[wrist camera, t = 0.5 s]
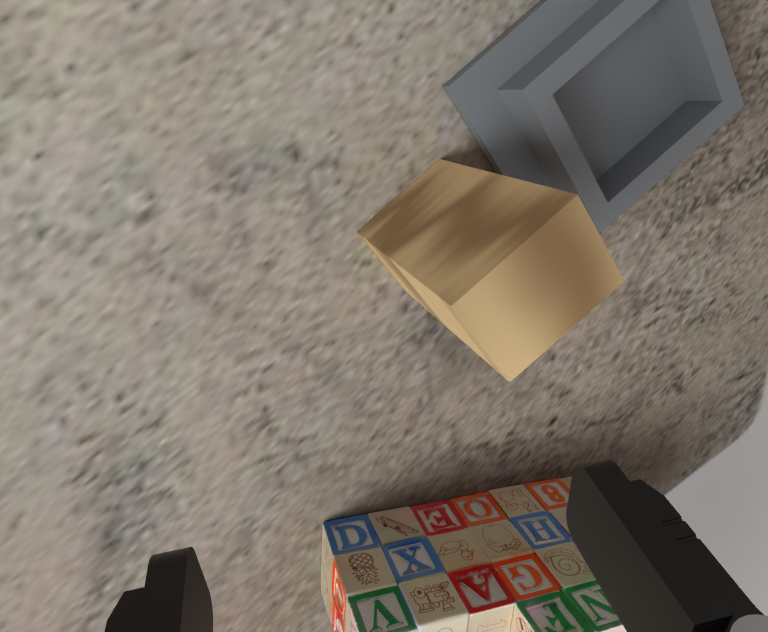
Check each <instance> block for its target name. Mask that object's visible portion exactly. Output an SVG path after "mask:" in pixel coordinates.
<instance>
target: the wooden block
mask: <svg viewBox="0 0 768 632" xmlns="http://www.w3.org/2000/svg"><path fill="white" fill-rule="evenodd" d="M357 233H358V234H359V236H360V237H361V238H362V239H363V241H364V242H365V243H366V244H367V245H368V247H369V248H370V249H371V250H372V252H373V253H374V254H375V255H376V256H377V258H378V259H379V260H380V261H381V263H382V264H383V265H384V266H385V268H386V269H387V270H388V271H389V272H390V274H391V275H392V276H393V277H394V279H395V280H396V281H397V282H398V283H399V285H400V286H401V287H402V288H403V289H404V290H405V291H406V292H407V293H409V294H410V295H411V296H412V297H413V298H414V299H415V300H417V301H418V302H419V303H420V304H421V305H422V306H423V307H425V308H426V309H427V310H428V311H429V312H430V313H431V314H433V315H434V316H435V317H436V318H437V319H438V320H439V321H441V322H442V323H443V324H444V325H445V326H446V327H447V328H449V329H450V330H451V331H452V332H453V333H454V334H455V335H457V336H458V337H459V338H460V339H461V340H462V341H463V342H465V343H466V344H467V345H468V346H469V347H470V348H471V349H473V350H474V351H475V352H476V353H477V354H478V355H479V356H481V357H482V358H483V359H484V360H485V361H486V362H487V363H489V364H490V365H491V366H492V367H493V368H494V369H495V370H497V371H498V372H499V373H500V374H501V375H502V376H503V377H505V378H506V379H507V380H508V381H509V382H511V381H512V380H513V379H514V378H515V377H516V376H518V375H519V374H520V373H521V372H522V371H523V370H524V369H525V368H527V367H528V366H529V365H530V364H531V363H532V362H533V361H534V360H536V359H537V358H538V357H539V356H540V355H541V354H542V353H544V352H545V351H546V350H547V349H548V348H549V347H550V346H551V345H553V344H554V343H555V342H556V341H557V340H558V339H559V338H560V337H562V336H563V335H564V334H565V333H566V332H567V331H568V330H570V329H571V328H572V327H573V326H574V325H575V324H576V323H577V322H579V321H580V320H581V319H582V318H583V317H584V316H585V315H586V314H588V313H589V312H590V311H591V310H592V309H593V308H594V307H595V306H597V305H598V304H599V303H600V302H601V301H602V300H603V299H605V298H606V297H607V296H608V295H609V294H610V293H611V292H612V291H614V290H615V289H616V288H617V287H618V286H619V285H620V284H621V283H623V282H624V279H623V277H622V275H621V273H620V271H619V269H618V268H617V266H616V264H615V262H614V260H613V258H612V257H611V255H610V253H609V251H608V249H607V247H606V245H605V244H604V242H603V240H602V238H601V236H600V234H599V233H598V231H597V229H596V227H595V225H594V223H593V221H592V220H591V218H590V216H589V214H588V212H587V210H586V208H585V207H584V205H583V203H582V201H581V199H580V197H579V196H578V194H574V193H570V192H566V191H562V190H558V189H554V188H550V187H547V186H543V185H539V184H535V183H531V182H527V181H523V180H519V179H516V178H512V177H508V176H504V175H500V174H496V173H492V172H488V171H485V170H481V169H477V168H473V167H469V166H465V165H461V164H457V163H454V162H450V161H446V160H442V159H439V160H438V161H437V162H436V163H435V164H433V165H432V166H431V167H430V168H429V169H428V170H427V171H425V172H424V173H423V174H422V175H421V176H420V177H419V178H417V179H416V180H415V181H414V182H413V183H412V184H411V185H410V186H408V187H407V188H406V189H405V190H404V191H403V192H402V193H400V194H399V195H398V196H397V197H396V198H395V199H394V200H392V201H391V202H390V203H389V204H388V205H387V206H386V207H384V208H383V209H382V210H381V211H380V212H379V213H378V214H376V215H375V216H374V217H373V218H372V219H371V220H370V221H368V222H367V223H366V224H365V225H364V226H363V227H362V228H361V229H359V230H358V231H357Z"/></svg>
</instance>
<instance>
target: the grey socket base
mask: <svg viewBox="0 0 768 632" xmlns="http://www.w3.org/2000/svg"><path fill="white" fill-rule="evenodd" d="M443 87H444V89H445V91H446V92H447V94H448V96H449V97H450V99H451V100H452V102H453V104H454V105H455V107H456V109H457V110H458V112H459V113H460V115H461V117H462V118H463V120H464V122H465V123H466V125H467V126H468V128H469V130H470V131H471V133H472V135H473V136H474V138H475V139H476V141H477V143H478V144H479V146H480V147H481V149H482V151H483V152H484V154H485V156H486V157H487V159H488V160H489V162H490V164H491V165H492V167H493V169H494V170H495V172H496V173H497V174H500V175H504V176H508V177H512V178H516V179H519V180H523V181H527V182H531V183H535V184H539V185H543V186H547V187H550V188H554V189H558V190H562V191H566V192H570V193H574V194H578V196H579V197H580V199H581V201H582V203H583V205H584V207H585V208H586V210H587V212H588V214H589V216H590V218H591V220H592V221H593V223H594V225H595V227H596V229H597V231H598V233H601V232H602V231H603V230H604V229H605V228H607V227H608V226H609V225H610V224H611V223H612V222H613V221H614V220H616V219H617V218H618V217H619V216H620V215H621V214H622V213H624V212H625V211H626V210H627V209H628V208H629V207H630V206H631V205H633V204H634V203H635V202H636V201H637V200H638V199H639V198H640V197H642V196H643V195H644V194H645V193H646V192H647V191H648V190H650V189H651V188H652V187H653V186H654V185H655V184H656V183H657V182H659V181H660V180H661V179H662V178H663V177H664V176H665V175H667V174H668V173H669V172H670V171H671V170H672V169H673V168H674V167H676V166H677V165H678V164H679V163H680V162H681V161H682V160H683V159H685V158H686V157H687V156H688V155H689V154H690V153H691V152H693V151H694V150H695V149H696V148H697V147H698V146H699V145H700V144H702V143H703V142H704V141H705V140H706V139H707V138H708V137H709V136H711V135H712V134H713V133H714V132H715V131H716V130H717V129H719V128H720V127H721V126H722V125H723V124H724V123H725V122H726V121H728V120H729V119H730V118H731V117H732V116H733V115H734V114H736V113H737V112H738V111H739V110H740V109H741V108H742V107H743V106H745V105H744V102H743V99H742V96H741V92H740V89H739V86H738V83H737V80H736V77H735V74H734V71H733V68H732V65H731V62H730V59H729V56H728V53H727V50H726V47H725V43H724V40H723V37H722V34H721V31H720V28H719V25H718V22H717V19H716V16H715V13H714V10H713V7H712V4H711V1H710V0H541V1H539V2H538V3H537V4H536V5H535V6H534V7H533V8H531V9H530V10H529V11H528V12H527V13H526V14H525V15H523V16H522V17H521V18H520V19H519V20H518V21H517V22H515V23H514V24H513V25H512V26H511V27H510V28H509V29H507V30H506V31H505V32H504V33H503V34H502V35H501V36H499V37H498V38H497V39H496V40H495V41H494V42H493V43H491V44H490V45H489V46H488V47H487V48H486V49H485V50H484V51H482V52H481V53H480V54H479V55H478V56H477V57H476V58H474V59H473V60H472V61H471V62H470V63H469V64H468V65H466V66H465V67H464V68H463V69H462V70H461V71H460V72H458V73H457V74H456V75H455V76H454V77H453V78H452V79H450V80H449V81H448V82H447V83H446V84H445V85H444V86H443Z"/></svg>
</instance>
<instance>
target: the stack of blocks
mask: <svg viewBox="0 0 768 632" xmlns="http://www.w3.org/2000/svg"><path fill="white" fill-rule="evenodd" d="M571 479H572V477H566V478H560V479H558V478H555V479H550V480H544V481H539V482H533V483H527V484H524V485H515V486H509V487H504V488H498V489H492V490H489V491H487V492H485V493H478V494H474V495H468V496H463V497H457V498H452V499H450V500H444V501H439V502H433V503H427V504H422V505H417V506H413V507H408V506H406V507H401V508H396V509H390V510H385V511H379V512H374V513H369V514H363V515H357V516H351V517H346V518H342V519H336V520H331V521H326V522H323V533H322V561H321V592H322V597H323V600H324V604H325V607H326V610H327V613H328V616H329V619H330V622H331V625H332V632H627V631H626V629H625V628H624V626H623V624H622V623H621V621H620V619H619V618H618V616H617V614H616V613H615V611H614V609H613V608H612V606H611V604H610V602H609V601H608V599H607V597H606V596H605V594H604V592H603V591H602V589H601V587H600V586H599V584H598V582H597V581H596V579H595V577H594V575H593V574H592V572H591V570H590V569H589V567H588V565H587V564H586V562H585V560H584V559H583V557H582V555H581V554H580V552H579V550H578V548H577V547H576V545H575V543H574V542H573V540H572V537H571V535H570V532H569V529H568V525H567V520H566V510H567V504H568V498H569V492H570V486H571Z"/></svg>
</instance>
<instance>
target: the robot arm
mask: <svg viewBox="0 0 768 632" xmlns="http://www.w3.org/2000/svg"><path fill="white" fill-rule="evenodd" d="M566 520H567V525H568V529H569V532H570V535H571V537H572V540H573V542H574V543H575V545H576V547H577V548H578V550H579V552H580V554H581V555H582V557H583V559H584V560H585V562H586V564H587V565H588V567H589V569H590V570H591V572H592V574H593V575H594V577H595V579H596V581H597V582H598V584H599V586H600V587H601V589H602V591H603V592H604V594H605V596H606V597H607V599H608V601H609V602H610V604H611V606H612V608H613V609H614V611H615V613H616V614H617V616H618V618H619V619H620V621H621V623H622V624H623V626H624V628H625V629H626V631H627V632H768V616H765V615H764V614H763V613H761V612H760V611H759V610H758V609H757V608H756V607H755V605H754V604H753V603H752V602H751V601H750V600H749V598H748V597H747V596H746V595H745V594H744V592H743V591H742V590H741V589H740V588H739V587H738V585H737V584H736V583H735V581H734V580H733V579H732V578H731V577H730V575H729V574H728V573H727V572H726V570H725V569H724V568H723V567H722V566H721V564H720V563H719V562H718V561H717V560H716V558H715V557H714V556H713V555H712V554H711V552H710V551H709V550H708V549H707V547H706V546H705V545H704V544H703V543H702V541H701V540H700V539H697V538H696V534H695V533H694V532H693V530H692V529H691V528H690V527H689V525H688V524H687V523H686V522H685V521H682V519H681V516H680V515H679V513H678V512H677V511H676V510H675V508H674V507H673V506H672V505H671V504H670V502H669V501H668V500H667V499H666V498H665V496H664V495H662V494H661V493H659V492H658V491H656V490H655V489H654V488H652V487H651V486H649V485H648V484H646V483H645V482H643V481H642V480H641V479H639V480H635V481H629V480H628V478H627V477H626V476H625V475H624V473H623V472H622V471H621V469H620V468H619V467H618V466H617V464H616V463H614V462H613V461H611V460H603V461H598V462H594V463H589V464H584V465H580V466H576V467H575V468H574V470H573V473H572V479H571V486H570V492H569V498H568V504H567V510H566ZM105 632H213V611H212V602H211V596H210V592H209V589H208V587H207V584H206V581H205V578H204V575H203V573H202V570H201V567H200V564H199V562H198V559H197V556H196V553H195V551H194V549H193V548H192V547H188V548H183V549H179V550H174V551H169V552H165V553H160V554H155V555H152V556H151V558H150V560H149V564H148V569H147V576H146V582H145V587H143V588H139V589H134V590H130V591H125V592H124V593H123V595H122V596H121V598H120V600H119V602H118V603H117V605H116V607H115V608H114V610H113V612H112V613H111V615H110V617H109V618H108V620H107V624H106V628H105Z"/></svg>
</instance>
